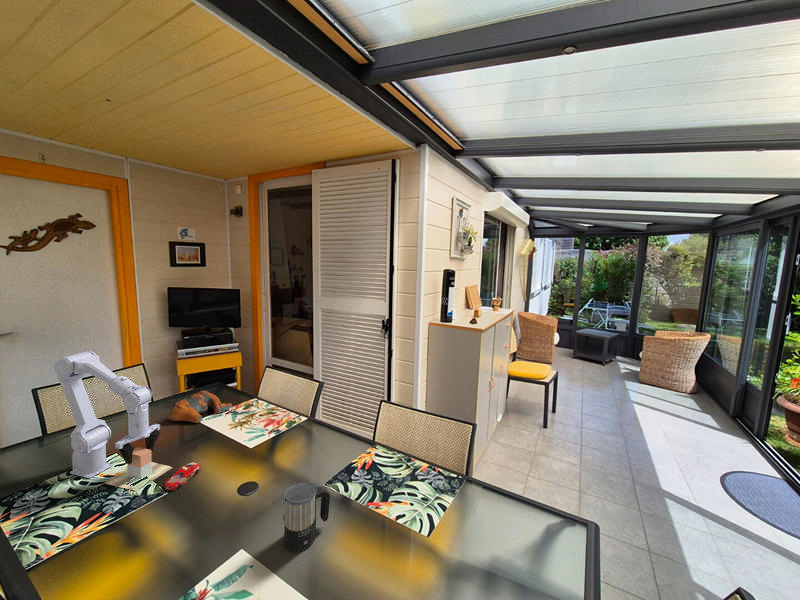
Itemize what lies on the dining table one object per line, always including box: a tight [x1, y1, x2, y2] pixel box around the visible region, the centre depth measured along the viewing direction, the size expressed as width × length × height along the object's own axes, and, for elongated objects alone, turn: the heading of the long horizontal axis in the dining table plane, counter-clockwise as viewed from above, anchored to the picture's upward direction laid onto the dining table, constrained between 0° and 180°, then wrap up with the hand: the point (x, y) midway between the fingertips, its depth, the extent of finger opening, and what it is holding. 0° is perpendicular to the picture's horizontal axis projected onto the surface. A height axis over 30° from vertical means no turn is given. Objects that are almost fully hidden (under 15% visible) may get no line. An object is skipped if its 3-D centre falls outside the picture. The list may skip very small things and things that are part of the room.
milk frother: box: [282, 481, 331, 553], centre depth 99 cm, size 14×16×15 cm
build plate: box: [104, 461, 174, 492], centre depth 120 cm, size 14×14×1 cm
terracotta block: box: [127, 446, 153, 468], centre depth 119 cm, size 6×4×4 cm, turn 77°
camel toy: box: [166, 390, 233, 424], centre depth 167 cm, size 25×13×17 cm
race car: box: [163, 461, 201, 492], centre depth 118 cm, size 13×5×4 cm, turn 170°
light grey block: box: [127, 461, 153, 479], centre depth 119 cm, size 6×4×4 cm, turn 77°
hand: (139, 457), depth 119 cm, fingers open, 7 cm apart
